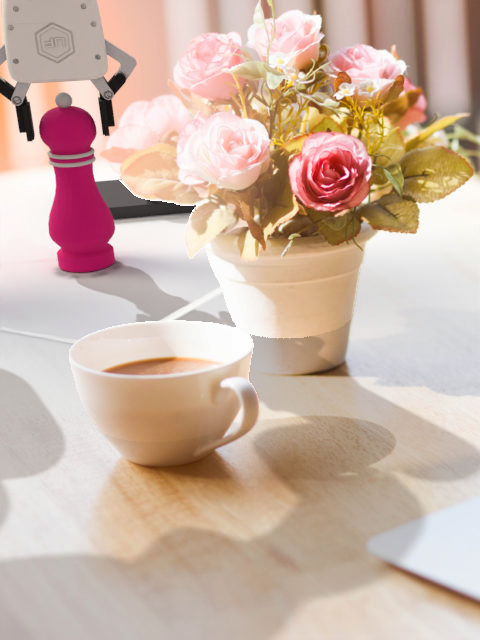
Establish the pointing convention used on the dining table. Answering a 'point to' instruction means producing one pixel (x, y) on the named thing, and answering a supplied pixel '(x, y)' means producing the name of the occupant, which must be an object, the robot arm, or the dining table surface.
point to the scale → (134, 202)
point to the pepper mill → (76, 190)
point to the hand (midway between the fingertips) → (68, 135)
